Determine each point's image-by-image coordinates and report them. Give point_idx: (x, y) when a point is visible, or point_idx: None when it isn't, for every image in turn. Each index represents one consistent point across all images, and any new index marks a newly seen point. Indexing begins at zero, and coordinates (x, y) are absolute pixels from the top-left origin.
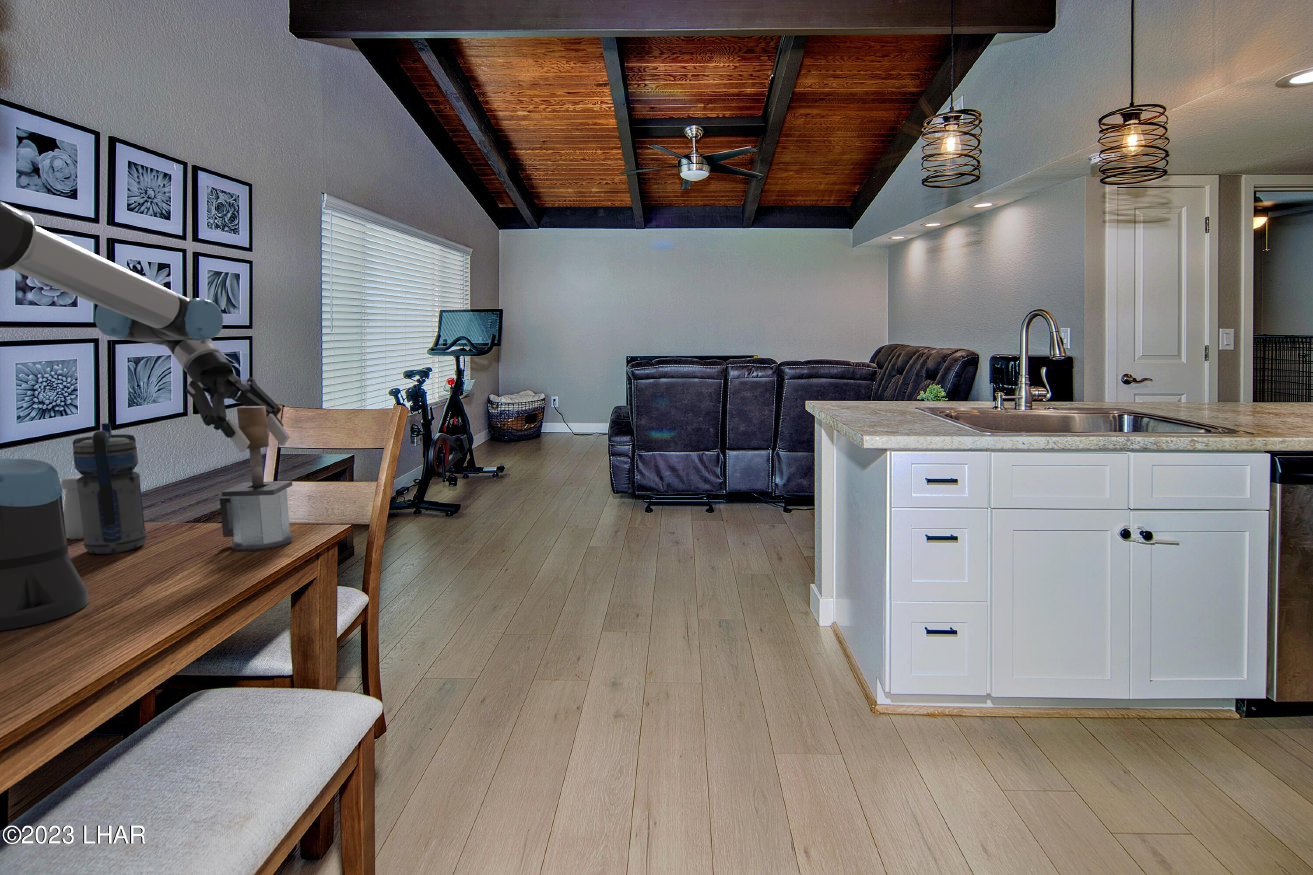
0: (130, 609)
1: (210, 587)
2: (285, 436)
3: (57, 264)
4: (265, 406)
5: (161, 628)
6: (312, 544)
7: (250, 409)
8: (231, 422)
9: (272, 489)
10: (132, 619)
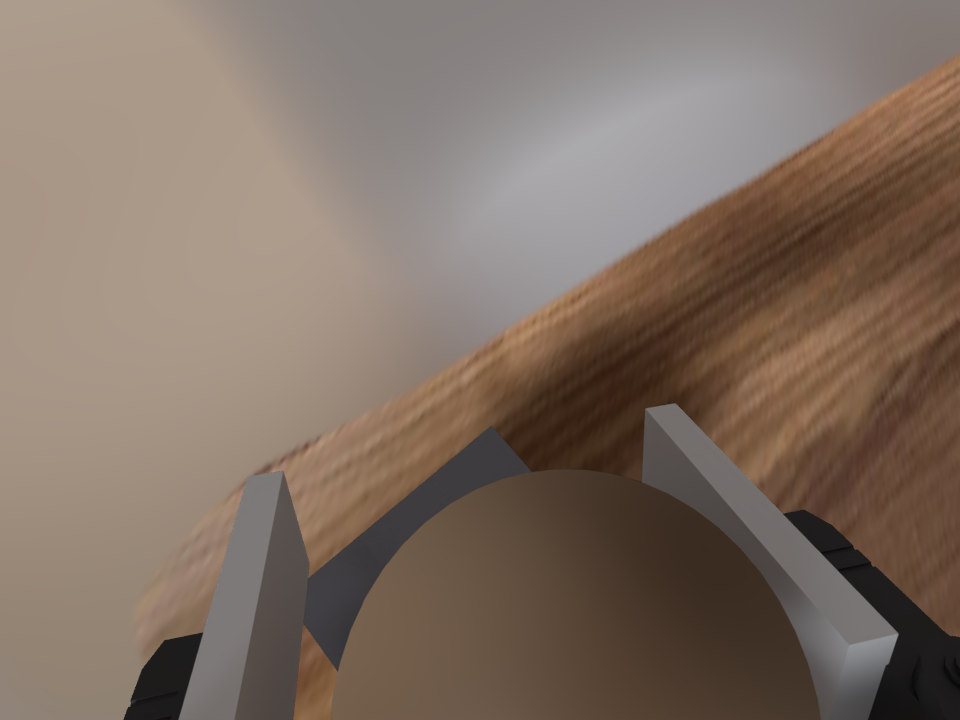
0: (912, 286)
1: (747, 285)
2: (283, 489)
3: None
4: (363, 602)
5: (881, 135)
6: (376, 431)
7: (671, 506)
8: (838, 577)
9: (487, 442)
10: (916, 223)
